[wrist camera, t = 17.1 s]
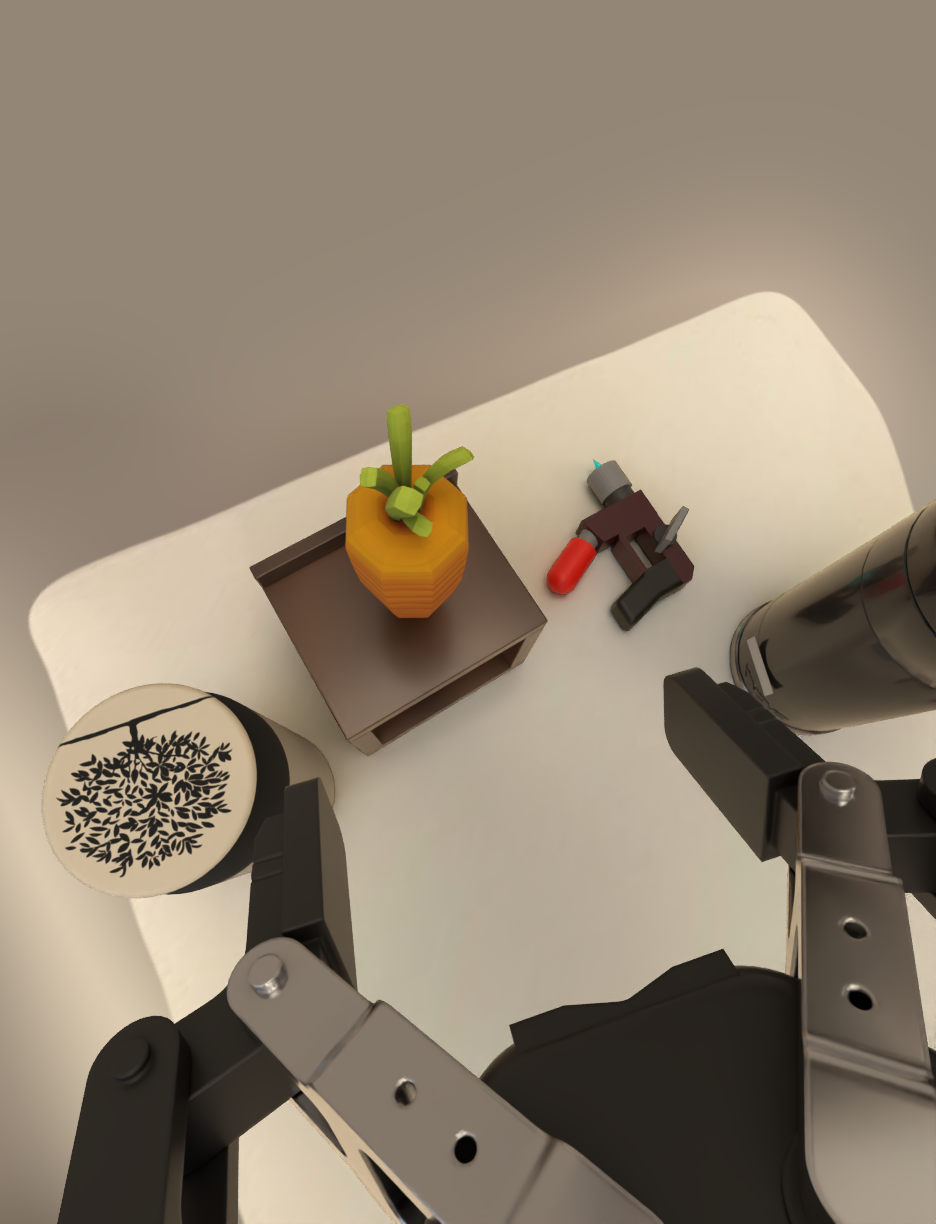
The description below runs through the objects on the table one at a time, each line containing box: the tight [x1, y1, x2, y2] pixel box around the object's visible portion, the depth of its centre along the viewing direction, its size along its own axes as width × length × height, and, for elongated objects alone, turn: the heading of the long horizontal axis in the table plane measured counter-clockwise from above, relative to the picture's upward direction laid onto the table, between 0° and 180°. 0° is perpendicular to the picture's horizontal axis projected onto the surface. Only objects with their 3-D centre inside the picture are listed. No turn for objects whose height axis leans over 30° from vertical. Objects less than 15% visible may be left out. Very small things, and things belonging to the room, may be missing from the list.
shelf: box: [250, 469, 547, 756], centre depth 38 cm, size 12×10×11 cm
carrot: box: [345, 405, 474, 618], centre depth 27 cm, size 5×5×15 cm
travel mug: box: [42, 684, 334, 898], centre depth 32 cm, size 8×8×18 cm
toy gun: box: [547, 459, 694, 631], centre depth 44 cm, size 10×12×5 cm
